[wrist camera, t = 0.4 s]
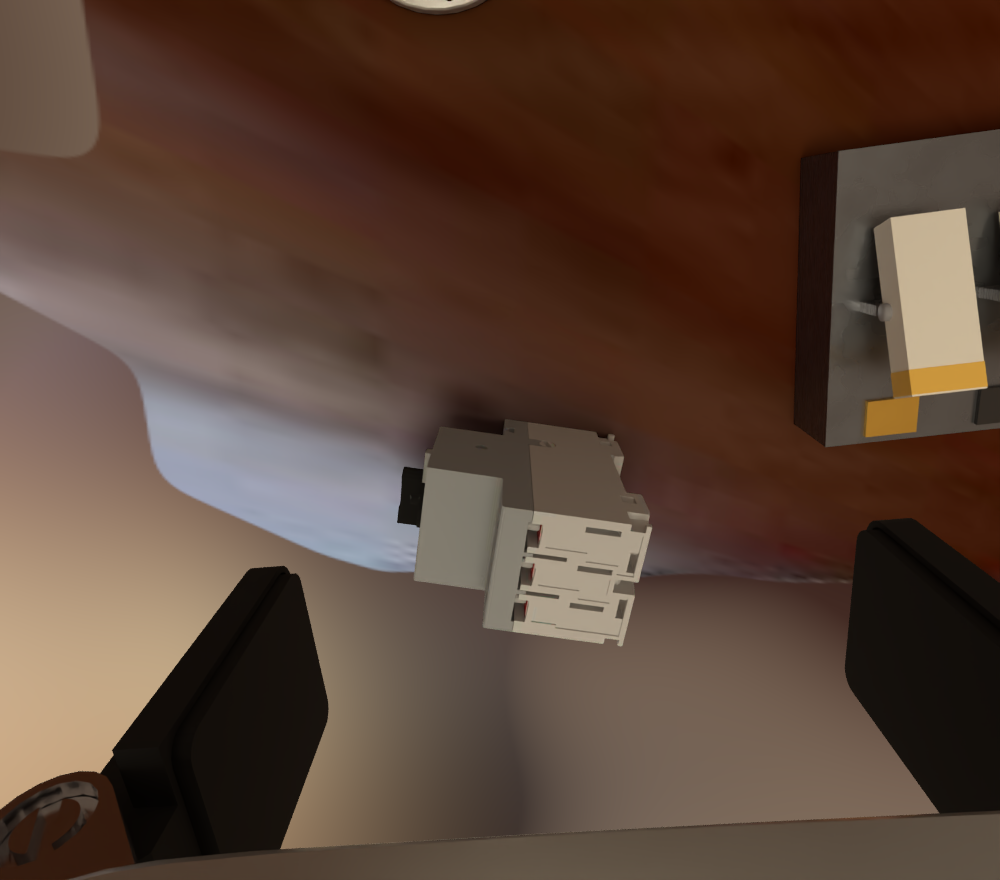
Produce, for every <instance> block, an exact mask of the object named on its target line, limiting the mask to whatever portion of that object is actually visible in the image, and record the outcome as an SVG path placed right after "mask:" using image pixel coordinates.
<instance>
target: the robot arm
mask: <svg viewBox="0 0 1000 880" xmlns="http://www.w3.org/2000/svg"><path fill="white" fill-rule="evenodd" d="M390 1H391V2H393V3H395V4H396V5H398V6H401V7H404V8H407V9H409V10H412V11H415V12H419V13H427V14H435V15H439V14H450V13H458V12H461V11H464V10H467V9H470V8H473V7H476V6H478V5H479V4H481V3H483V2H484V1H486V0H452V1H450V2H449V1H447V0H390ZM845 673H846V678H847V681H848V684H849V686H850V688H851V690H852V692H853V693H854V695H855V696H856V697H857V699H858V700H859V702H860V703H861V704H862V706H863V707H864V709H865V710H866V711H867V713H868V714H869V715H870V717H871V718H872V720H873V721H874V722H875V724H876V725H877V727H878V728H879V729H880V731H881V732H882V734H883V735H884V736H885V738H886V739H887V741H888V742H889V743H890V745H891V746H892V747H893V749H894V750H895V752H896V753H897V754H898V756H899V757H900V759H901V760H902V761H903V763H904V764H905V766H906V767H907V768H908V770H909V771H910V772H911V774H912V775H913V777H914V778H915V779H916V781H917V782H918V784H919V785H920V787H921V788H922V789H923V791H924V792H925V793H926V795H927V796H928V798H929V799H930V800H931V802H932V803H933V805H934V806H935V807H936V809H937V810H938V812H939V814H920V815H919V814H918V815H897V816H876V817H857V818H836V819H813V820H793V821H772V822H751V823H732V824H714V825H694V826H676V827H657V828H639V829H620V830H603V831H583V832H565V833H547V834H531V835H530V834H529V835H512V836H495V837H480V838H479V837H478V838H462V839H446V840H428V841H413V842H396V843H380V844H363V845H346V846H329V847H313V848H296V849H280V848H281V845H282V842H283V840H284V837H285V834H286V832H287V829H288V826H289V823H290V820H291V818H292V815H293V813H294V810H295V807H296V804H297V802H298V799H299V796H300V794H301V791H302V788H303V786H304V783H305V780H306V777H307V775H308V772H309V769H310V767H311V764H312V761H313V759H314V756H315V753H316V751H317V748H318V745H319V742H320V740H321V737H322V734H323V731H324V728H325V726H326V723H327V719H328V699H327V695H326V690H325V686H324V682H323V677H322V673H321V668H320V664H319V659H318V655H317V650H316V646H315V642H314V637H313V633H312V628H311V624H310V619H309V615H308V611H307V606H306V602H305V598H304V593H303V588H302V585H301V580H300V578H299V576H298V575H297V574H296V573H295V574H290V572H289V571H288V569H287V568H286V567H285V566H277V567H263V568H252V569H250V570H248V571H247V572H246V574H245V575H244V576H243V578H242V579H241V580H240V582H239V583H238V584H237V586H236V587H235V588H234V590H233V591H232V592H231V594H230V595H229V596H228V598H227V599H226V600H225V602H224V603H223V604H222V605H221V607H220V608H219V610H218V611H217V612H216V613H215V615H214V616H213V617H212V619H211V620H210V621H209V623H208V624H207V625H206V627H205V628H204V629H203V631H202V632H201V633H200V635H199V636H198V637H197V639H196V640H195V641H194V643H193V644H192V645H191V647H190V648H189V649H188V651H187V652H186V653H185V654H184V656H183V657H182V658H181V660H180V661H179V663H178V664H177V665H176V666H175V668H174V669H173V670H172V672H171V673H170V674H169V676H168V677H167V678H166V680H165V681H164V682H163V684H162V685H161V686H160V688H159V689H158V690H157V692H156V693H155V694H154V696H153V697H152V698H151V699H150V701H149V702H148V703H147V705H146V706H145V708H144V709H143V710H142V712H141V713H140V714H139V716H138V717H137V718H136V719H135V721H134V722H133V723H132V725H131V726H130V727H129V729H128V730H127V731H126V733H125V734H124V735H123V737H122V738H121V739H120V741H119V742H118V743H117V744H116V746H115V747H114V749H113V750H112V751H113V754H114V756H113V757H112V758H111V760H110V761H109V762H108V764H107V765H106V766H105V768H104V769H103V770H102V772H101V773H100V774H99V773H97V772H89V771H87V772H86V771H85V772H84V771H78V772H74V773H69V774H65V775H60V776H57V777H55V778H53V779H50V780H48V781H45V782H43V783H40V784H38V785H36V786H35V787H33V788H31V789H29V790H28V791H26V792H24V793H23V794H21V795H19V796H17V797H16V798H15V799H13V800H12V801H11V802H9V803H8V804H7V805H6V806H4V807H3V808H2V809H0V880H1000V583H999V582H997V581H996V580H995V579H993V578H992V577H991V576H989V575H988V574H987V573H985V572H984V571H983V570H981V569H980V568H979V567H977V566H976V565H975V564H973V563H972V562H971V561H969V560H968V559H967V558H965V557H964V556H963V555H961V554H960V553H959V552H957V551H956V550H955V549H953V548H952V547H951V546H949V545H948V544H947V543H945V542H944V541H943V540H941V539H940V538H939V537H937V536H936V535H935V534H933V533H932V532H931V531H929V530H928V529H927V528H925V527H924V526H923V525H921V524H920V523H918V522H917V521H916V520H914V519H912V518H905V519H892V520H879V521H872V522H871V523H870V524H869V526H868V528H867V530H864V531H861V532H860V533H859V535H858V537H857V544H856V554H855V565H854V575H853V586H852V597H851V607H850V618H849V628H848V640H847V650H846V660H845Z"/></svg>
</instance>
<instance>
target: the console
mask: <svg viewBox="0 0 1000 880" xmlns="http://www.w3.org/2000/svg"><path fill="white" fill-rule="evenodd" d="M960 208H965V210H966V218H967V226H968V234H969V242H970V251H971V259H972V267H973V275H974V283H975V291H976V299H977V307H978V316H979V324H980V332H981V340H982V348H983V356H984V361H985V367H986V375H987V384H988V386H987V388H985V389H977V390H969V391H961V392H952V393H943V394H934V395H925V396H916V397H908V398H899V399H894V397H893V390H892V381H891V369H890V360H889V352H888V344H887V335H886V327H885V321H883V322H882V321H880V320H879V318H878V307H879V306H880V305H881V304H883V302H882V294H881V286H880V278H879V269H878V261H877V253H876V245H875V236H874V228H875V227H877V226H878V225H880V224H881V223H883V222H884V221H886V220H887V219H889V218H891V217H898V216H906V215H914V214H921V213H929V212H937V211H945V210H952V209H960ZM998 212H1000V129H998V130H991V131H983V132H976V133H969V134H961V135H954V136H946V137H939V138H932V139H924V140H917V141H910V142H902V143H895V144H888V145H880V146H873V147H866V148H858V149H851V150H843V151H837V152H832V153H826V154H821V155H816V156H811V157H805V158H801V181H800V218H799V255H798V292H797V329H796V366H795V403H794V424H795V425H796V426H798V427H799V428H801V429H802V430H803V431H805V432H806V433H807V434H809V435H810V436H811V437H813V438H814V439H815V440H817V441H818V442H819V443H821V444H822V445H823V446H825V447H831V446H840V445H849V444H858V443H867V442H876V441H885V440H895V439H904V438H913V437H922V436H931V435H940V434H949V433H958V432H968V431H977V430H986V429H995V428H1000V222H999V214H998Z"/></svg>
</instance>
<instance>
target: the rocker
mask: <svg viewBox="0 0 1000 880" xmlns="http://www.w3.org/2000/svg"><path fill="white" fill-rule="evenodd" d="M874 236H875V245H876V253H877V261H878V269H879V278H880V286H881V294H882V302H883V304H881V305H880V306H879V307H878V318H879V320H880V321H882V322H883V321H885V327H886V335H887V344H888V352H889V360H890V369H891V381H892V390H893V397H894V399H899V398H908V397H916V396H925V395H934V394H943V393H952V392H961V391H969V390H977V389H985V388H987V386H988V384H987V375H986V367H985V361H984V356H983V348H982V340H981V332H980V324H979V316H978V307H977V299H976V291H975V283H974V275H973V267H972V259H971V251H970V242H969V234H968V226H967V218H966V210H965V208H960V209H952V210H945V211H937V212H929V213H921V214H914V215H906V216H898V217H891V218H889V219H887V220H886V221H884V222H883V223H881V224H880V225H878V226H877V227H875V228H874Z"/></svg>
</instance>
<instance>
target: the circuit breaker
mask: <svg viewBox="0 0 1000 880" xmlns="http://www.w3.org/2000/svg"><path fill="white" fill-rule="evenodd" d="M614 437H615V436H614V435H613V434H608V437H607V439H606V438H599V437H598V436H597V433H596V432H592V431H585V430H578V429H571V428H564V427H557V426H550V425H543V424H537V423H530V422H523V421H516V420H509V419H505V423H504V429H503V435H498V434H491V433H484V432H477V431H470V430H463V429H456V428H449V427H440V429H439V432H438V435H437V438H436V440H435V444H434V446H433V449H427V450H426V453H425V462H424V469H417V468H410V467H404V469H403V473H402V488H401V502H400V506H399V511H398V520H397V523H403V524H411V525H417V527H419V528H420V531H419V540H418V548H417V556H416V565H415V573H414V580H415V581H422V582H428V583H436V584H443V585H450V586H457V587H465V588H473V589H480V590H484V591H485V599H484V614H483V627H484V628H490V629H497V630H505V631H513V632H520V633H527V634H534V635H542V636H549V637H556V638H564V639H572V640H579V641H586V642H594V643H601V644H603V643H604V639H605V638H608V639H615V640H617V644H618V646H622V645H623V641H624V637H625V633H626V629H627V625H628V621H629V617H630V613H631V609H632V605H633V601H634V597H635V591H634V582H639V578H640V574H641V570H642V566H643V562H644V558H645V554H646V550H647V546H648V542H649V538H650V534H651V530H652V524H649V523H648V520H649V516H650V513H649V510H648V507H647V505H646V503H645V501H644V499H643V497H642V495H640V494H633V493H626V491H625V488H624V486H623V484H622V481H621V479H620V473H621V468H622V464H623V459H624V456H623V453H622V451H621V449H620V447H619V445H618V443H617V442H616V441H614Z"/></svg>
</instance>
